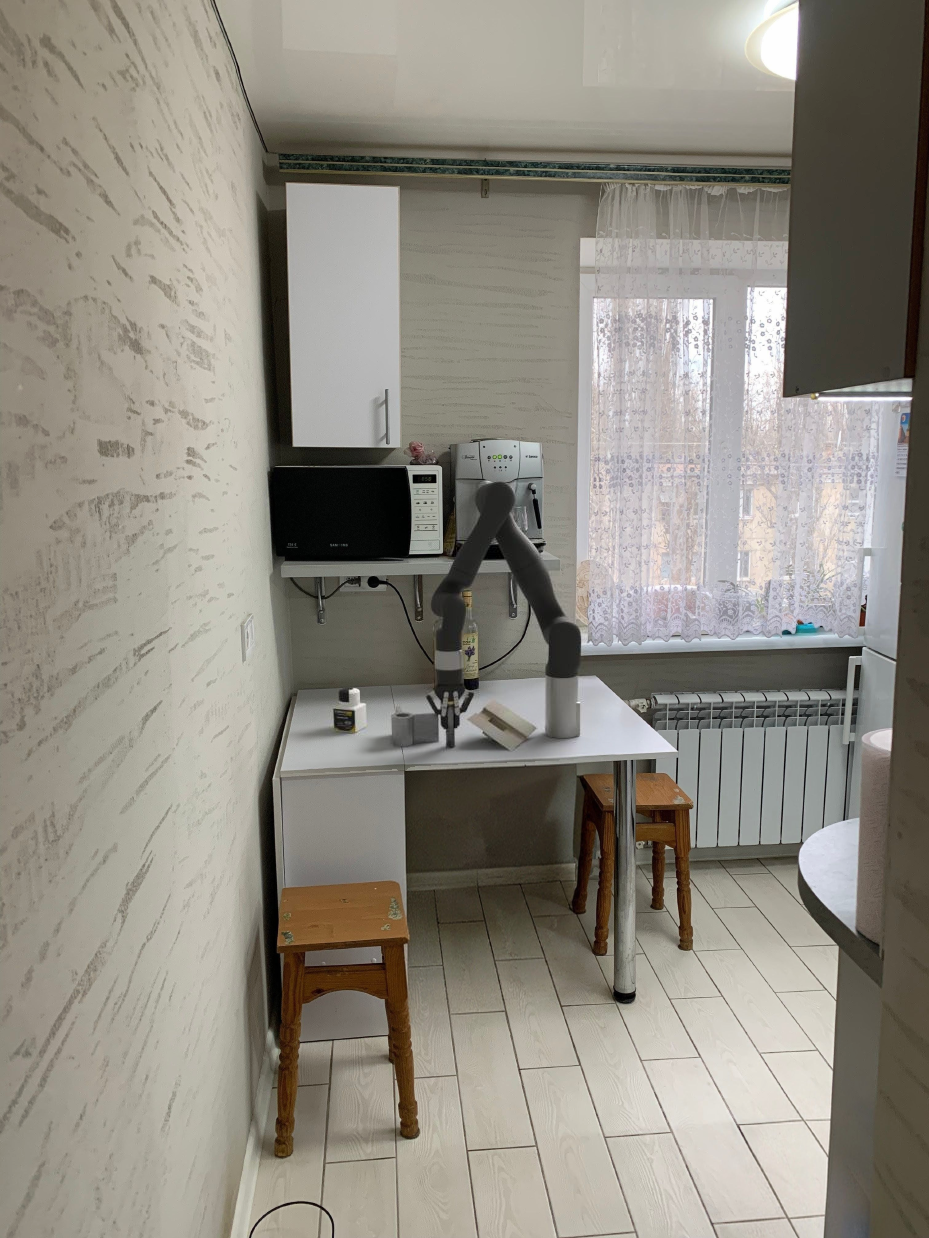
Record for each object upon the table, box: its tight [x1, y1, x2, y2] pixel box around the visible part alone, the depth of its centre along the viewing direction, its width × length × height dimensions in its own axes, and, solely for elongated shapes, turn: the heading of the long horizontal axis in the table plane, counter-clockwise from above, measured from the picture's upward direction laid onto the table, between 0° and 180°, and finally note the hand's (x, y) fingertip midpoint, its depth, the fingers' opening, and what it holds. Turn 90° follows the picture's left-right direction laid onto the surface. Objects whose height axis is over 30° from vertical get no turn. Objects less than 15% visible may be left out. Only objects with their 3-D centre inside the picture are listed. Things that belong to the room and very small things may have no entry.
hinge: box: [390, 705, 440, 748], centre depth 256 cm, size 13×13×8 cm
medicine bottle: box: [332, 687, 367, 734], centre depth 266 cm, size 7×7×12 cm
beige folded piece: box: [466, 699, 538, 752], centre depth 255 cm, size 16×9×15 cm
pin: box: [445, 701, 456, 748], centre depth 248 cm, size 3×3×13 cm
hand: (450, 727), depth 248 cm, fingers closed on pin, 2 cm apart
